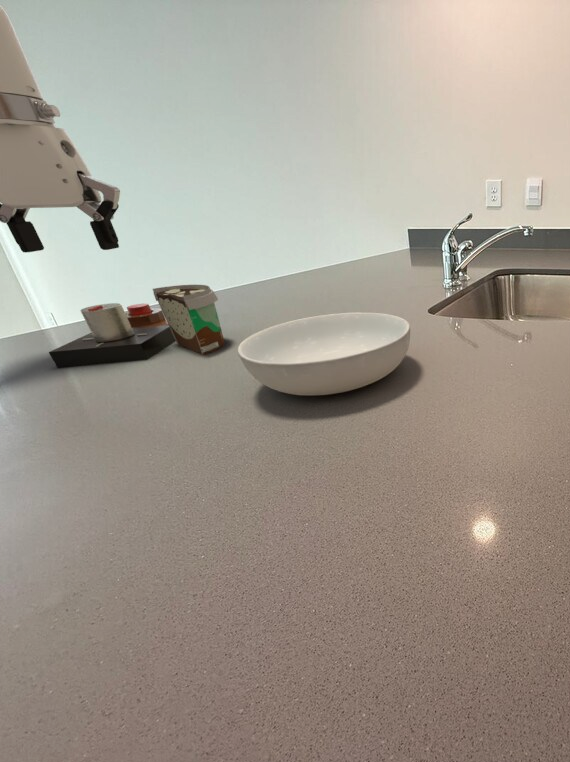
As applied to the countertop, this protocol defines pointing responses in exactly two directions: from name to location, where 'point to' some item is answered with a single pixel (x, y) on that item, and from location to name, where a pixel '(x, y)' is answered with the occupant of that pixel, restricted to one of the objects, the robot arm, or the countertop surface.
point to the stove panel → (113, 348)
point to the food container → (191, 316)
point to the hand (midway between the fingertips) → (73, 249)
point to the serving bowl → (326, 352)
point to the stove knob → (107, 322)
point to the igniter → (148, 319)
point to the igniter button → (139, 309)
